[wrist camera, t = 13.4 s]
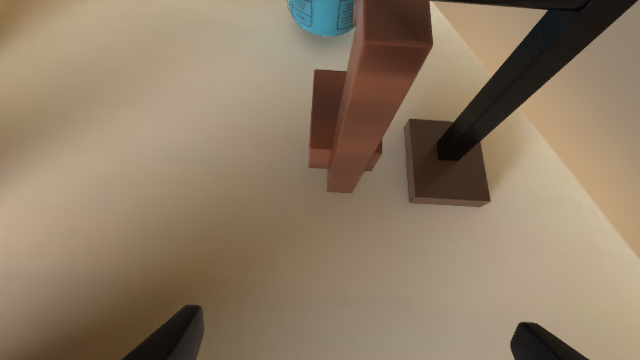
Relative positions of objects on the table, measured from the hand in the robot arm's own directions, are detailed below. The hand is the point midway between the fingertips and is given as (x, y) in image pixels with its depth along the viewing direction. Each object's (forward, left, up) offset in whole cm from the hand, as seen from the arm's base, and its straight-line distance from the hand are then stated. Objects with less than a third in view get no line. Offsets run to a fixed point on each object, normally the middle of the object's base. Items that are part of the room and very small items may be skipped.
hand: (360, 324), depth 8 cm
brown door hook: (+10, -2, -8) cm, 13 cm away
